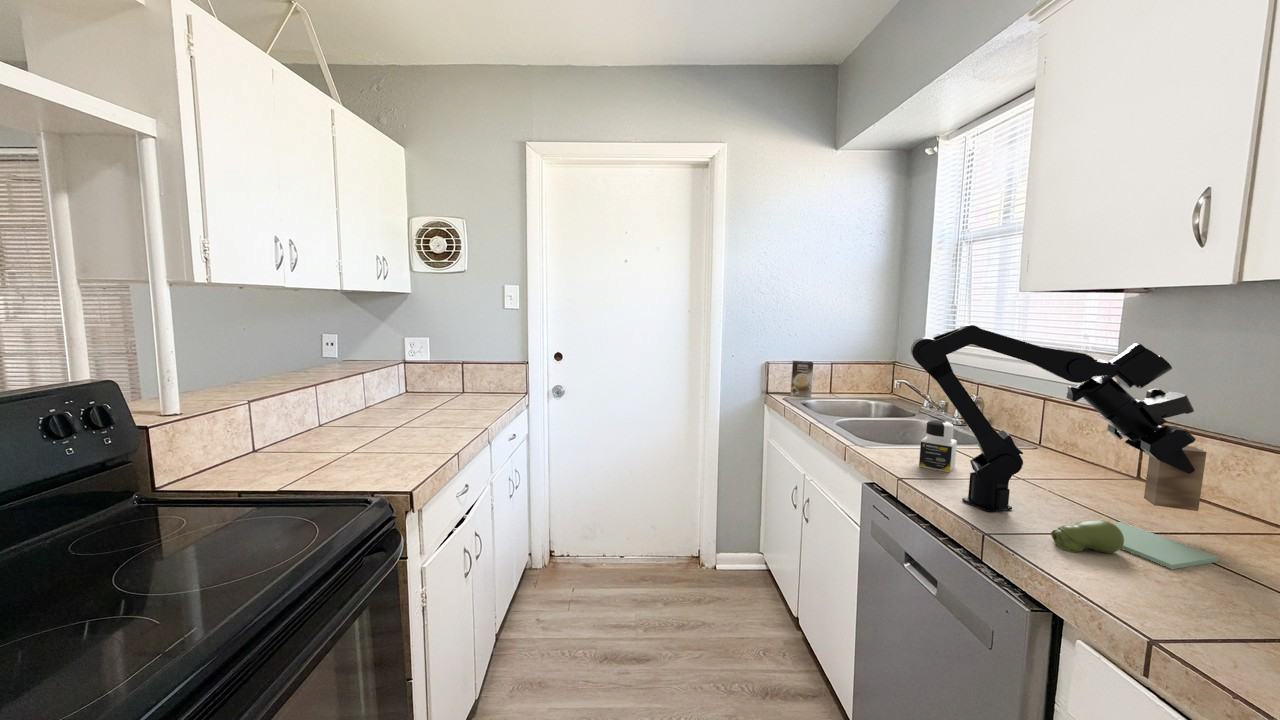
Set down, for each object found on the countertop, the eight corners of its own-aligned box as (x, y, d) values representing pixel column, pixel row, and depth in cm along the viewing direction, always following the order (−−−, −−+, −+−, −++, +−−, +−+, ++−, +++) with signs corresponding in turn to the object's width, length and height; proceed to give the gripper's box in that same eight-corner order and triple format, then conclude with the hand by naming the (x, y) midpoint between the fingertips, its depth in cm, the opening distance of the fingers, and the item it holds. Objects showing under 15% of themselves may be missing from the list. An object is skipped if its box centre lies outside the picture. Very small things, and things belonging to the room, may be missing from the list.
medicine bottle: (918, 466, 133) (921, 421, 131) (924, 460, 138) (927, 417, 137) (950, 472, 128) (953, 426, 127) (955, 466, 133) (958, 421, 132)
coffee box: (790, 396, 232) (792, 361, 230) (790, 394, 238) (791, 360, 236) (811, 397, 230) (813, 362, 228) (811, 395, 236) (812, 361, 234)
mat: (1077, 531, 95) (1078, 527, 95) (1120, 525, 98) (1120, 521, 98) (1171, 569, 82) (1172, 564, 81) (1218, 561, 84) (1218, 556, 84)
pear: (1131, 527, 84) (1063, 531, 86) (1133, 557, 85) (1065, 561, 87) (1107, 513, 90) (1043, 518, 92) (1109, 542, 90) (1046, 545, 92)
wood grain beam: (1154, 505, 94) (1161, 447, 93) (1143, 498, 98) (1150, 442, 96) (1198, 511, 92) (1206, 452, 90) (1185, 503, 95) (1193, 446, 94)
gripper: (1186, 383, 85) (1269, 456, 82) (1134, 370, 102) (1202, 430, 99) (1120, 424, 89) (1197, 495, 86) (1080, 405, 106) (1143, 464, 103)
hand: (1185, 468), depth 93 cm, fingers closed on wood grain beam, 4 cm apart
